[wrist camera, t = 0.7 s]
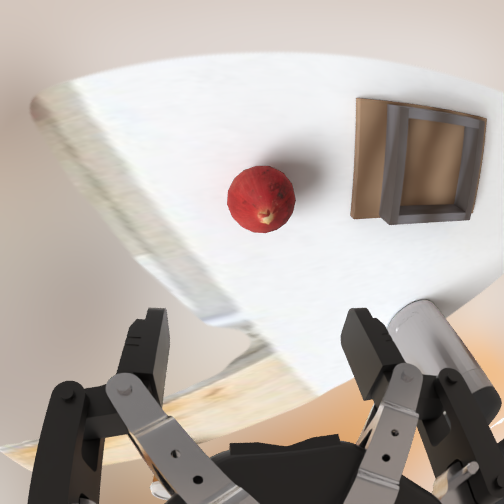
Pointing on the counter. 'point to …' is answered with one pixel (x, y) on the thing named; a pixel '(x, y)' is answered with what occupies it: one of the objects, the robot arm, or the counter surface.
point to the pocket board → (415, 162)
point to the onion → (261, 199)
